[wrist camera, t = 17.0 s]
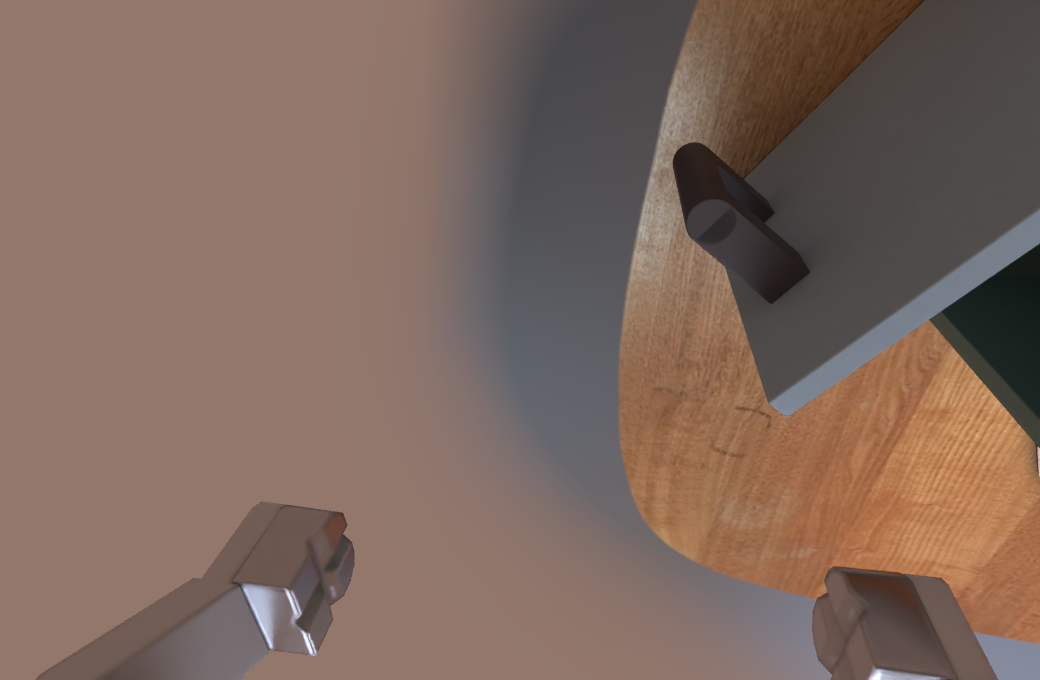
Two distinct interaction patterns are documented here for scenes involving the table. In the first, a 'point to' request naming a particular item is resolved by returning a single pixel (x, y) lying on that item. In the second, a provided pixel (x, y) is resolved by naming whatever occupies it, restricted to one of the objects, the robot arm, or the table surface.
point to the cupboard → (1003, 337)
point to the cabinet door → (880, 195)
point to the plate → (1038, 459)
